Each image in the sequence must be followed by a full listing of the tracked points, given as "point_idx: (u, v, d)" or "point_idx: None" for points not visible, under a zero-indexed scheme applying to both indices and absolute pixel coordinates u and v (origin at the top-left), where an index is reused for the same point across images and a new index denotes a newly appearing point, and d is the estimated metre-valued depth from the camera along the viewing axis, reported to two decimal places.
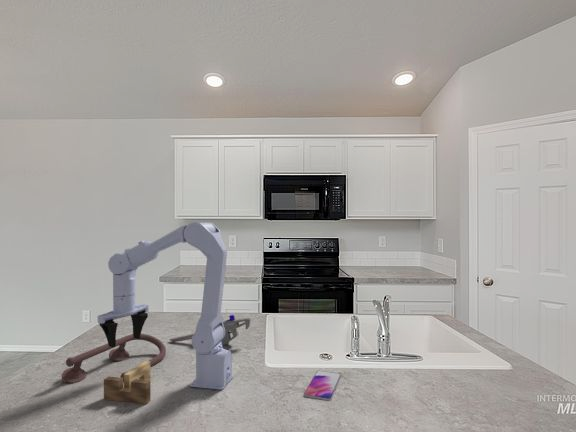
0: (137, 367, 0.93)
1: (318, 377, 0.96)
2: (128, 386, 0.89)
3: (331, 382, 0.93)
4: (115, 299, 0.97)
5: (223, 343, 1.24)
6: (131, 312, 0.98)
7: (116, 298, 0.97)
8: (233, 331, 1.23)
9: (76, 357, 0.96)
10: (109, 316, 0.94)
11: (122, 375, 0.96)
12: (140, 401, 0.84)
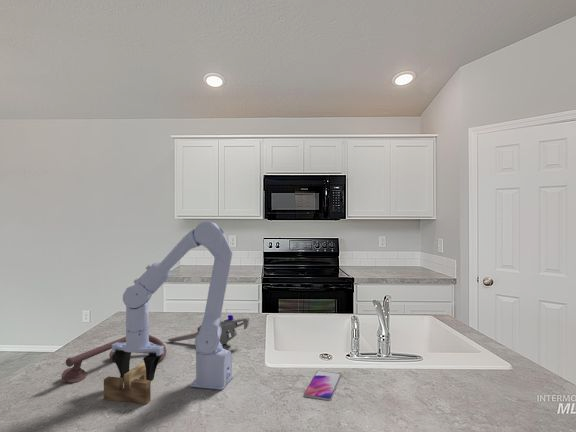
0: (137, 367, 0.93)
1: (318, 377, 0.96)
2: (128, 386, 0.89)
3: (331, 382, 0.93)
4: None
5: (221, 343, 1.24)
6: (130, 350, 0.90)
7: None
8: (231, 331, 1.23)
9: (76, 357, 0.96)
10: (117, 347, 0.93)
11: None
12: (140, 401, 0.84)
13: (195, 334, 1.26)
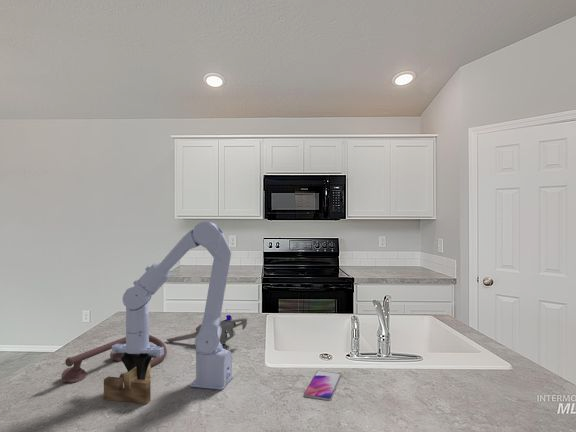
0: None
1: (318, 377, 0.96)
2: (128, 386, 0.89)
3: (331, 382, 0.93)
4: None
5: None
6: (131, 352, 0.90)
7: None
8: (230, 331, 1.23)
9: (75, 357, 0.96)
10: (117, 348, 0.93)
11: (121, 376, 0.96)
12: (140, 401, 0.84)
13: (193, 334, 1.26)
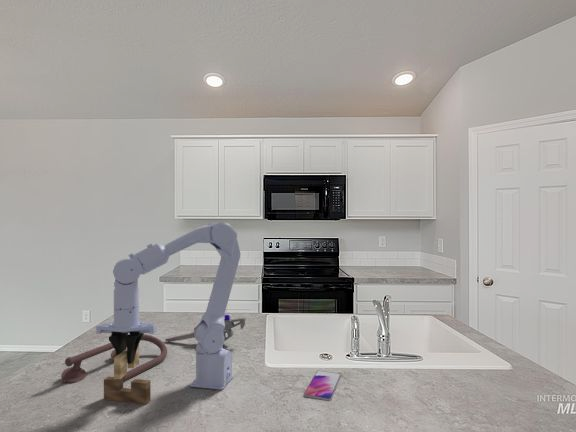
0: (126, 350, 0.86)
1: (318, 377, 0.96)
2: (119, 370, 0.82)
3: (331, 382, 0.93)
4: None
5: None
6: (121, 330, 0.83)
7: None
8: (228, 331, 1.23)
9: (75, 357, 0.96)
10: (103, 328, 0.85)
11: None
12: (140, 401, 0.84)
13: (192, 334, 1.26)
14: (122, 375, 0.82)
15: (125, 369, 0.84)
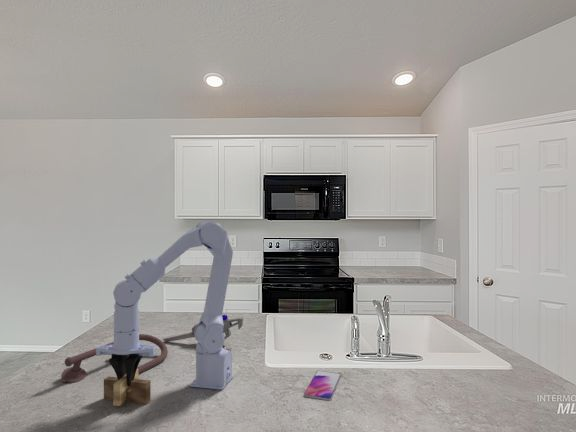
0: None
1: (318, 377, 0.96)
2: (118, 396, 0.81)
3: (331, 382, 0.93)
4: None
5: None
6: (120, 353, 0.83)
7: None
8: (226, 331, 1.24)
9: (75, 357, 0.96)
10: (103, 350, 0.85)
11: None
12: (140, 401, 0.84)
13: (190, 334, 1.26)
14: (121, 401, 0.82)
15: (124, 395, 0.83)
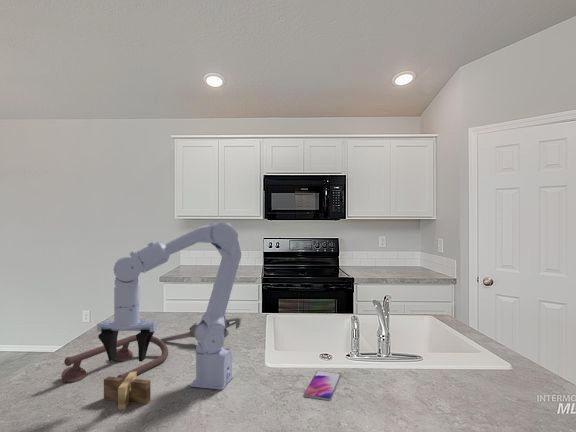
0: (127, 379, 0.86)
1: (318, 377, 0.96)
2: (123, 400, 0.82)
3: (331, 382, 0.93)
4: None
5: None
6: (121, 327, 0.83)
7: None
8: None
9: (74, 357, 0.96)
10: (103, 325, 0.85)
11: None
12: (140, 401, 0.84)
13: (187, 334, 1.26)
14: (126, 405, 0.83)
15: (128, 399, 0.84)
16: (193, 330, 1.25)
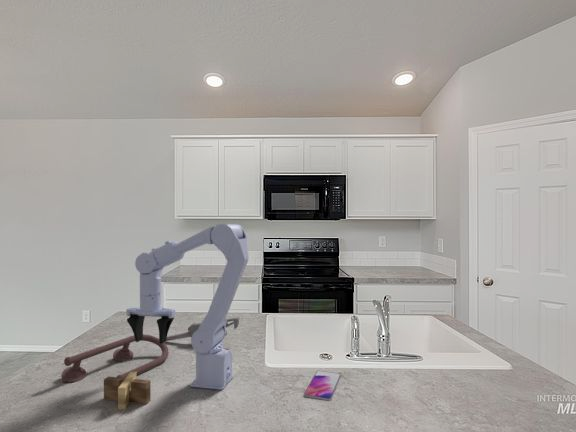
0: (127, 379, 0.86)
1: (318, 377, 0.96)
2: (123, 400, 0.82)
3: (331, 382, 0.93)
4: None
5: None
6: (144, 313, 0.96)
7: None
8: None
9: (74, 357, 0.96)
10: (131, 311, 0.99)
11: None
12: (140, 401, 0.84)
13: (186, 334, 1.26)
14: (126, 405, 0.83)
15: (128, 399, 0.84)
16: (191, 330, 1.26)
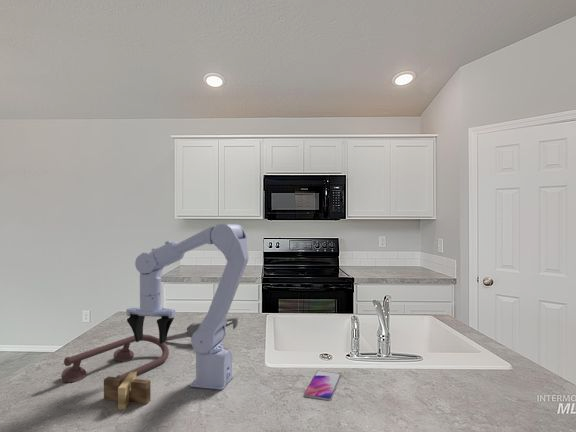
0: (127, 379, 0.86)
1: (318, 377, 0.96)
2: (123, 400, 0.82)
3: (331, 382, 0.93)
4: None
5: None
6: (144, 313, 0.96)
7: None
8: None
9: (74, 357, 0.96)
10: (131, 311, 0.99)
11: None
12: (140, 401, 0.84)
13: (184, 334, 1.26)
14: (126, 405, 0.83)
15: (128, 399, 0.84)
16: (190, 330, 1.26)
